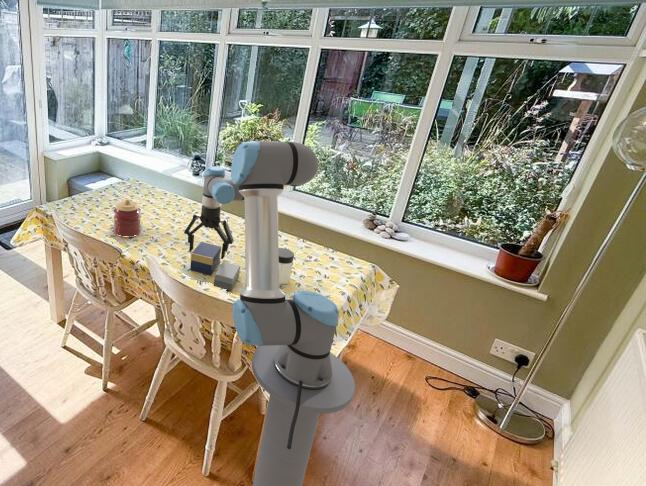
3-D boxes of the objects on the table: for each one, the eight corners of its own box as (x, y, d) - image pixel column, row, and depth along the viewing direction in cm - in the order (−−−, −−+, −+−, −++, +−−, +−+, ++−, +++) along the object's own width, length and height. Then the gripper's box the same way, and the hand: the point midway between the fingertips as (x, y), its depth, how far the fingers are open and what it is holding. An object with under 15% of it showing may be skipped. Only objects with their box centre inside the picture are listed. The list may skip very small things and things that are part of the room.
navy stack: (211, 275, 165) (212, 264, 163) (190, 270, 168) (191, 259, 167) (219, 263, 175) (220, 252, 173) (199, 258, 179) (200, 247, 177)
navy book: (212, 265, 163) (212, 258, 162) (190, 260, 166) (191, 253, 165) (220, 252, 173) (221, 246, 172) (200, 248, 177) (200, 241, 176)
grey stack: (231, 290, 155) (232, 279, 153) (213, 286, 158) (214, 274, 156) (239, 276, 165) (240, 265, 163) (222, 272, 168) (223, 261, 166)
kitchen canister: (110, 229, 204) (109, 196, 197) (134, 225, 208) (134, 192, 202) (119, 240, 193) (119, 206, 186) (144, 236, 197) (145, 202, 191)
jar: (263, 278, 164) (267, 251, 160) (273, 270, 170) (278, 245, 165) (283, 287, 158) (288, 260, 154) (294, 279, 164) (299, 253, 159)
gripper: (245, 208, 160) (238, 257, 167) (185, 197, 170) (181, 243, 178) (240, 214, 154) (234, 264, 161) (178, 202, 164) (175, 250, 171)
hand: (206, 253), depth 169 cm, fingers open, 13 cm apart
